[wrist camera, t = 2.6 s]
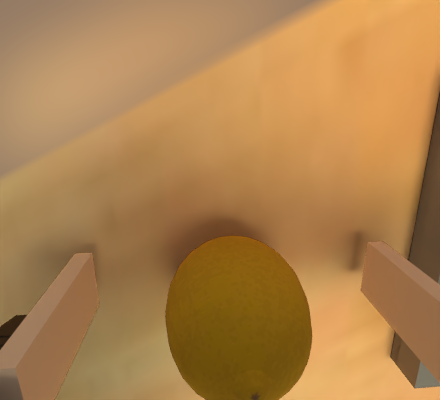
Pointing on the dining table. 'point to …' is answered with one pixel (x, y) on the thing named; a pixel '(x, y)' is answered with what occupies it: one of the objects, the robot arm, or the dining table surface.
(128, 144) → the dining table surface
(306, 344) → the lemon
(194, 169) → the dining table surface
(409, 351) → the tray
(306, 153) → the dining table surface
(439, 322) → the robot arm
